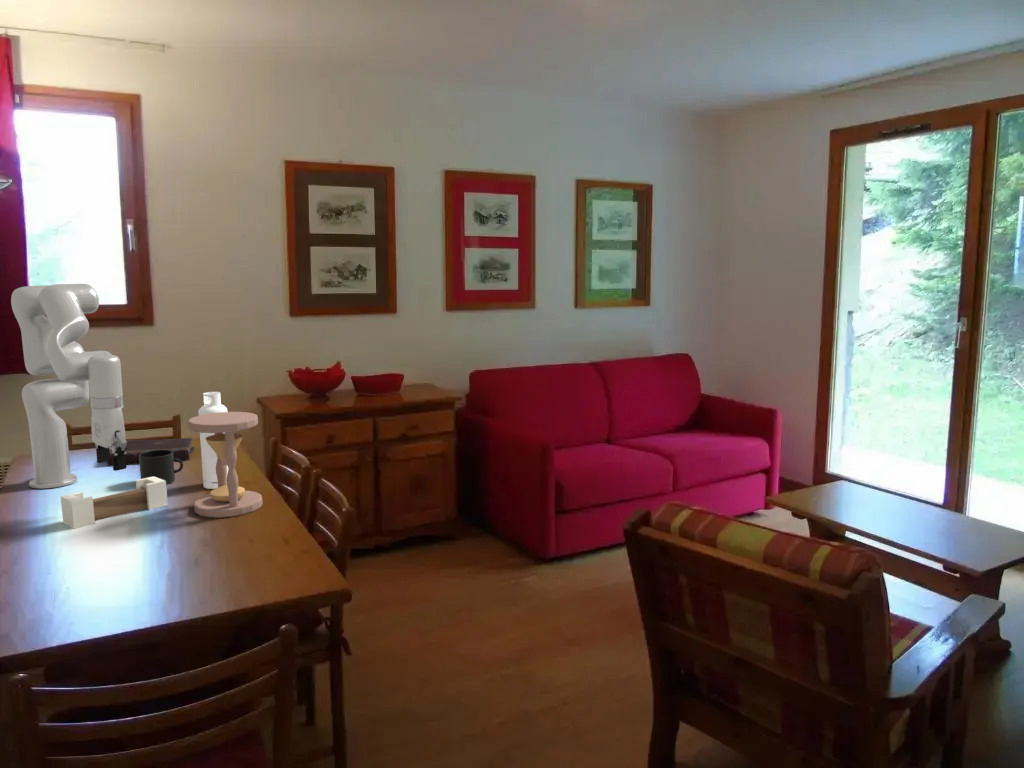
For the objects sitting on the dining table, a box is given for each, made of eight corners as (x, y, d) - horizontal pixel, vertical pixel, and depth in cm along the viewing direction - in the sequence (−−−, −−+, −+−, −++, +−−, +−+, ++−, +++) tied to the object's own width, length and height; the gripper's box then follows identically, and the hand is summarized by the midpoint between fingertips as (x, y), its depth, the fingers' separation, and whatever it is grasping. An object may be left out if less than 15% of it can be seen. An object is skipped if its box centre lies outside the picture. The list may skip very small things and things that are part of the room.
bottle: (197, 487, 229) (190, 394, 224) (217, 479, 236) (211, 390, 231) (218, 490, 226) (212, 396, 221) (237, 482, 233) (232, 391, 228)
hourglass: (195, 501, 215) (189, 414, 211) (260, 494, 221) (256, 409, 217) (193, 521, 199) (186, 427, 195) (264, 513, 205) (259, 421, 201)
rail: (81, 520, 200) (79, 501, 199) (144, 504, 212) (143, 487, 211) (87, 523, 198) (85, 504, 197) (150, 507, 210) (149, 489, 209)
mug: (184, 483, 232) (182, 454, 231) (140, 488, 228) (137, 458, 226) (184, 475, 241) (182, 447, 239) (142, 479, 236) (139, 451, 235)
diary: (189, 462, 259) (188, 448, 258) (107, 468, 252) (106, 454, 251) (194, 449, 276) (193, 435, 275) (118, 454, 269) (116, 440, 268)
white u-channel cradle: (63, 522, 198) (60, 496, 197) (155, 500, 216) (153, 476, 215) (74, 528, 194) (71, 501, 192) (167, 505, 212) (165, 480, 211)
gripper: (78, 399, 203) (83, 462, 206) (106, 409, 192) (111, 475, 195) (107, 395, 208) (112, 456, 211) (136, 405, 197) (141, 469, 201)
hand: (111, 465), depth 203 cm, fingers open, 9 cm apart
